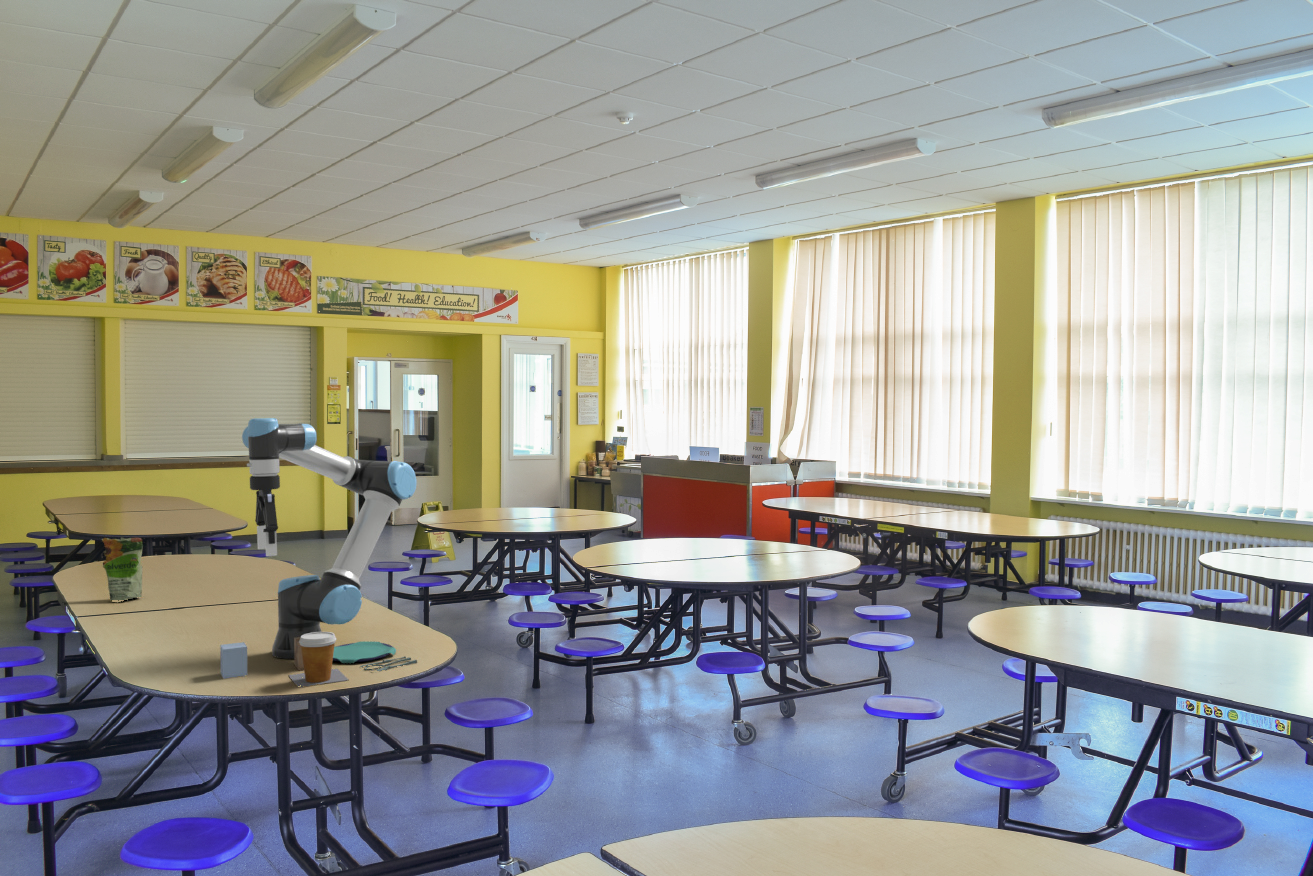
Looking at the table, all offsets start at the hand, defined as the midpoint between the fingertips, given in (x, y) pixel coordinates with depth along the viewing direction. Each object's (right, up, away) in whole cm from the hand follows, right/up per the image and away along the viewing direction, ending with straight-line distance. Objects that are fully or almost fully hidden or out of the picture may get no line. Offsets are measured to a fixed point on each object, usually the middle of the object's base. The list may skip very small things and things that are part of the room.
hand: (267, 552), depth 249 cm
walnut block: (+7, -34, +11) cm, 36 cm away
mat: (+14, -34, -1) cm, 37 cm away
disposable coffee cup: (+15, -34, -3) cm, 37 cm away
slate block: (-10, -34, +3) cm, 36 cm away
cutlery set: (+21, -35, +20) cm, 45 cm away
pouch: (-100, -32, +104) cm, 147 cm away
